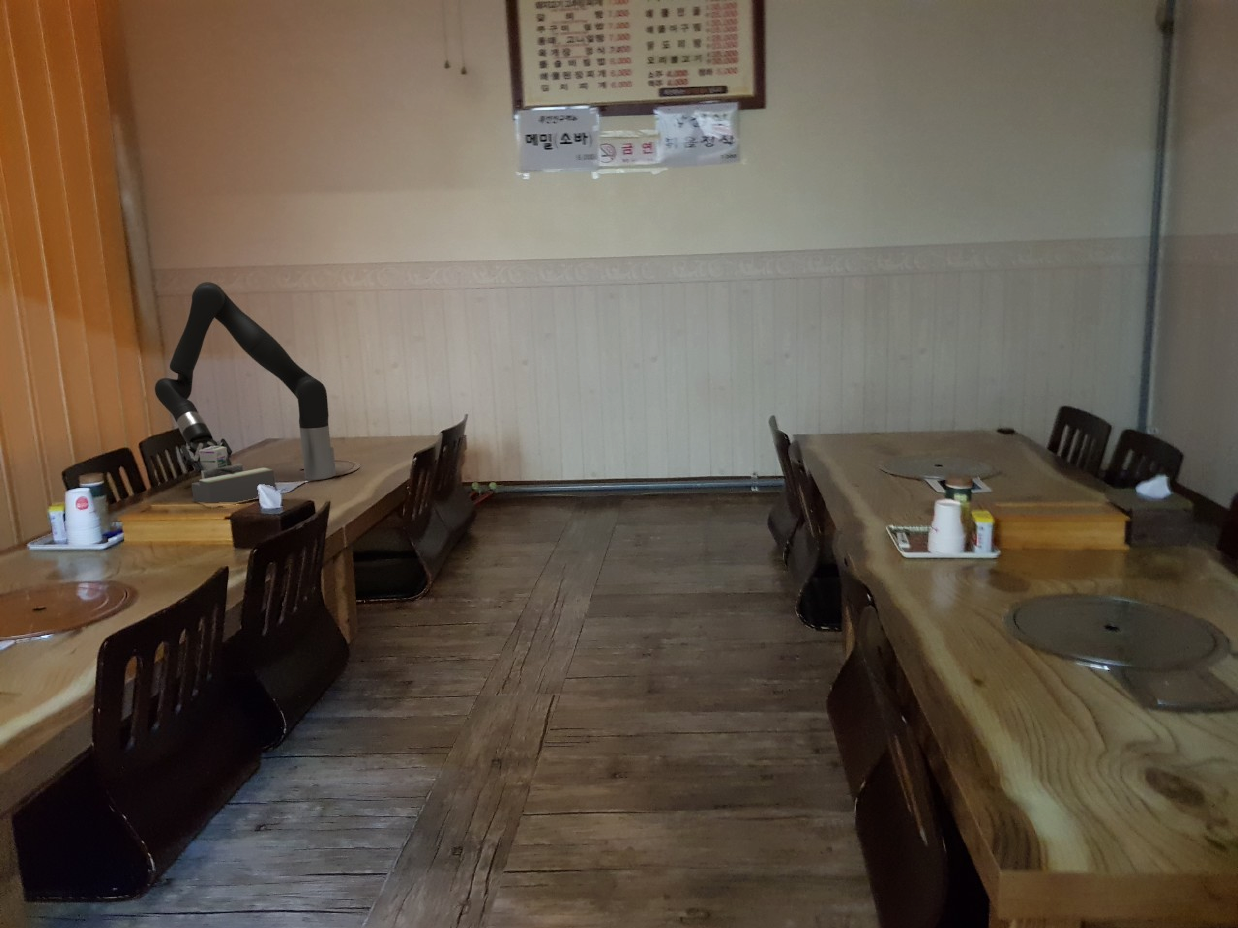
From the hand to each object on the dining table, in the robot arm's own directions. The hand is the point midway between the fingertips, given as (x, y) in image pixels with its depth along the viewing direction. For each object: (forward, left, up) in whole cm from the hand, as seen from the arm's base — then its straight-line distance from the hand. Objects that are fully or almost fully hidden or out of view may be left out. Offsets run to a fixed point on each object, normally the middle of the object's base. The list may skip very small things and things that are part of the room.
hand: (215, 470), depth 302 cm
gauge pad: (0, +8, -7) cm, 10 cm away
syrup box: (0, -1, -8) cm, 8 cm away
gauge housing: (0, +11, -8) cm, 13 cm away
